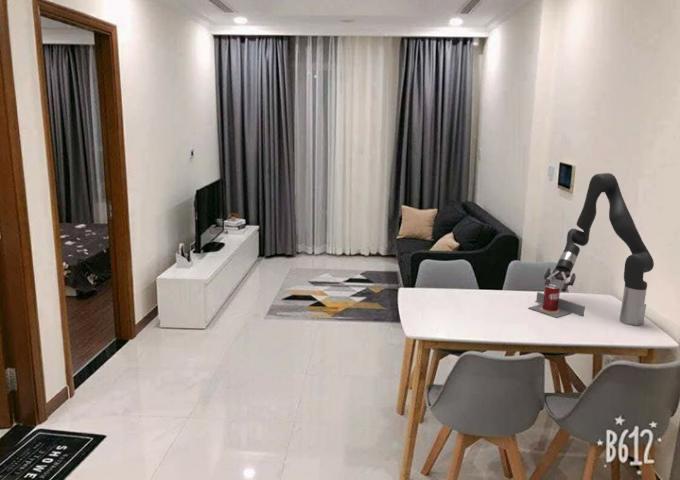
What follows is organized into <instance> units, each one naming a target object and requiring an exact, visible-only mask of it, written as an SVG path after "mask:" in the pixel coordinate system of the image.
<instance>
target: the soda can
mask: <svg viewBox="0 0 680 480" xmlns="http://www.w3.org/2000/svg"><path fill="white" fill-rule="evenodd" d="M543 293H544V296H543V305H542V308H543V309H544V310H546V311H550V312H555V311H557V310H558V304H559V298H560V294H561V287H560V286H559V285H556V284H549V285H545V284H544V290H543Z"/></svg>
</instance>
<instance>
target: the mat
mask: <svg viewBox="0 0 680 480" xmlns="http://www.w3.org/2000/svg"><path fill="white" fill-rule="evenodd" d="M542 305H543V304H542V303H540V304H537V305H534V306H530V307H528V310H531V311H534V312H537V313H540V314H543V315H545V316H548V317H549V316H550V317H552V318H555V319H560V318H563V317H566V316H568V315H571V314H572V313H571V312H568V311H565V310H562V309H559V308H558V310H557V311H555V312H550V311H546V310H544V309H543V308H542Z"/></svg>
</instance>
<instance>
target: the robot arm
mask: <svg viewBox="0 0 680 480" xmlns="http://www.w3.org/2000/svg"><path fill="white" fill-rule="evenodd" d="M588 184H589V185H588V187H587V192H586V197H585V199H584V200H585V201H584V203H583V206H582V208H581V209H582V210H581V212H580V214H579V216H578V218H577V221H576V226H577V228H579V229H581V230H579V229H577V228H571V229H570V230H568V232H567V235H566V244H565V247H564V250H563V252H562V253H561V255H560V257H559V259H558V261H557V263H556V266H555V269H551V268H550V267H549V268H548V269H547V270H546V271H545V273H544V275H543V278H544V281H545V282H544V286H545V285H551V284H550V283H551V282H552V281H555V280H558V281H564V282H565V283H564V284H563V286H562V287H561V291H562V292H563V293H565V292H566V291H567V289H568V287H570V286H572V287H573V286H574V284H575V282H576V278H577V276H576V273H574V272H573V273H572V271H573V269H574V266H575V264H576V262H577V258H578V256H579V253H580V250H581V249H580V247H579V246H581V247H585V246H586V245H587V244H588V243H589V240H590V232H591V228H592V225H593V223H594V221H595V219H596V216H597V202H598V199H599V198H600V196H601V194H603V193H604V195H606V198H607V200H608V203H609V208H608V209H609V210H608V219H609V222H610V224H611V226H612V229H613V231H614V232H615V234H616V236H617V237H619V238H620V239H621V241H622V242H624V243H625V244H626V246H627V247H628V249H629V250H630V253H631V254H630V255H628V256H627V257H626V259H625V262H624V270H623V271H624V272H623V281H624V287H623V288H624V289H623V295H622V301H621V308H620V309H621V310H620V316H619V321H620V322H621V323H623V324H625V325H626V324H627V325H631V326H635V327H639V326H641V325H643V324H644V322H645V315H646V307H647V304H646V303H645V302H646V296H647V295H646V294H647V289H648V282H647V281H645V280H644V273H649V272H651V271H652V270H653V268H654V264H655V263H654V259H653V256H652V254H651V253H650V251H649V250H648V248H647V247H646V245H645V243H644V241H643V239H642V237H641V235H640V233H639V230H638V229H637V227H636V224H635V221H634V219H633V218H632V215H631V213H630V211H629V208H628V207H627V204H626V202H625V200H624V197H623V195H622V192H621V188H620V186H619V183H618V180H617V178H616V176H615V175H614V174H612V173H610V172H607V173H597V174H594V175H593V176H592V177H591V178H590V181H589V183H588ZM569 278H570V280H569V281H568V279H569Z"/></svg>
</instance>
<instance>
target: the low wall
mask: <svg viewBox="0 0 680 480" xmlns="http://www.w3.org/2000/svg"><path fill="white" fill-rule="evenodd" d="M543 296H544V292H543V293H542V292H540V291H537V292H536V300H535V302H536V303H540V304H543ZM558 308H559V309H562V310H565V311H568V312H571V314H573V315H574V314H575V315H577V316H580V317H584V315H585V308H586V306H585V305H584V304H583V305H582V304H581V303H576V302H573V301H570V300H566V299H562V298H560V297H559V304H558Z"/></svg>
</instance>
